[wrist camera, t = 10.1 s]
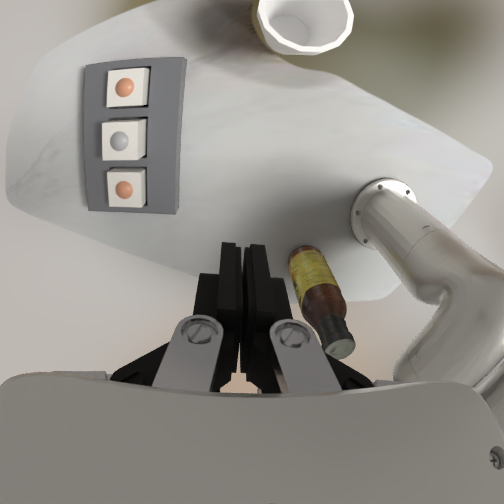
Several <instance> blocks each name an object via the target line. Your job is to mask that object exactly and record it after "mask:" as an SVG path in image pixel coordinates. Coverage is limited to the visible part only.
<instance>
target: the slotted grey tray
mask: <svg viewBox="0 0 504 504" xmlns="http://www.w3.org/2000/svg"><path fill="white" fill-rule="evenodd" d="M186 64H187V59H185V58H184V57H164V58H144V59H131V60H121V61H112V62H104V63H97V64H90V65H86V68H85V83H84V107H83V139H84V164H85V179H86V191H87V201H88V210H89V211H107V212H133V213H154V214H174V215H175V214H176V212H177V210H178V208H179V174H180V147H181V127H182V111H183V98H184V86H185V75H186ZM134 68H151V77H150V90H149V106H148V107H129V108H117V107H107V86H108V71H112V70H122V69H134ZM141 116H148V129H147V154H145V155H144V156H143V157H141V158H140V159H138V160H103V158H102V123H104V122H108V121H112V120H116V119H117V117H141ZM114 167H147V201H146V203H145V204H144V205H143V207H142V208H138V207H110V206H109V196H108V181H107V172H108V171H110V170H111V169H113V168H114Z"/></svg>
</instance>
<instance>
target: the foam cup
mask: <svg viewBox="0 0 504 504" xmlns="http://www.w3.org/2000/svg"><path fill="white" fill-rule="evenodd" d="M256 16H257V18H258V21H259V24H260V27H261V30H262V33H263V36H264V38H265V41H266V44H267V45H268V46H269V47H270V48H271V49H272V50H273V51H275V52H278V53H280V54H283V55H296V54H297V55H317V54H320V53H322V52H325V51H327V50H330V49H332V48H335V47H337V46H339V45H341V43H342V42H343V41H344V40H345V39H346V38H347V36H348V35H349V34H350V33H351V30H352V24H353V18H354V14H353V12H352V9H351V6H350V3H349V1H348V0H260V1H259V6H258V10H257V15H256Z"/></svg>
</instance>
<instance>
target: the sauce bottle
mask: <svg viewBox="0 0 504 504" xmlns="http://www.w3.org/2000/svg"><path fill="white" fill-rule="evenodd" d="M288 265H289V273H290V276H291V279H292V283H293V286H294V289H295V292H296V296H297V299H298V302H299V306H300V309H301V312H302V315H303V317H304V319H305V320H306V321H307V322H308V323H309V324H310V325H311V326H312V327H313V328H314V329H315V330H316V331H317V333H318V335H319V337H320V340H321V343H322V345H321V347H322V349H323V351H324V352H325V353H327V354H329V355H330V356H332V357H334V358H335V359H337V360H339V359H343V358H345V357H347V356H349V355H350V354H351V353H352V352H353V351H354V349H355V341H354V339H353V336H352V334H351V333H350V332H349V331H348V328H347V326H346V321H345V320H344V318H345V315H346V311H347V310H346V303H345V300H344V298H343V296H342V294H341V290H340V288H339V286H338V284H337V282H336V280H335V278H334V276H333V274H332V272H331V270H330V268H329V266H328V264H327V262H326V260H325V258H324V256H322V254H321V252H320V251H319V250H318V249H316V248H314V247H310V246H304V247H300V248H298V249H297V250H295V251H294V252H293V253H292V254H291V255H290V258H289V261H288Z"/></svg>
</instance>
